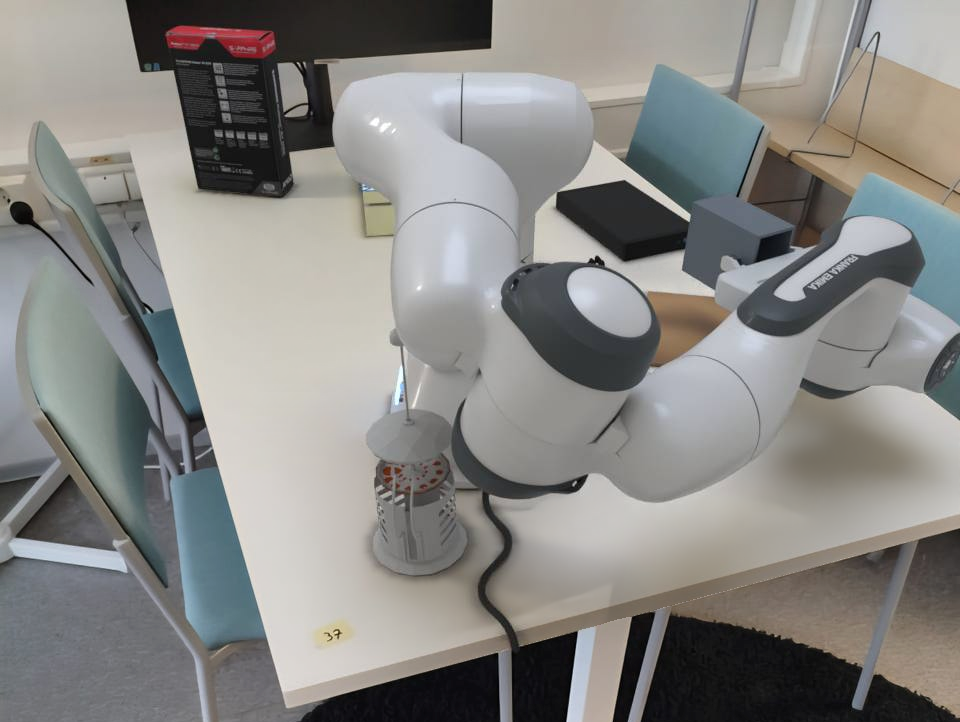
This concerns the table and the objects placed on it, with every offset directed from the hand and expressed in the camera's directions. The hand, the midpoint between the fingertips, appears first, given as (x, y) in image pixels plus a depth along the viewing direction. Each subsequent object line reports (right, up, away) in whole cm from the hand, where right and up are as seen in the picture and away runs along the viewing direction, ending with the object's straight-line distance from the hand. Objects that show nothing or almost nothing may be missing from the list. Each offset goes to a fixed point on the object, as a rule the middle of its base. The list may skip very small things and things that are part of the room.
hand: (747, 253), depth 109 cm
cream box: (-49, +27, +54) cm, 78 cm away
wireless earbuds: (-17, 0, +22) cm, 27 cm away
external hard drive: (-9, +14, +39) cm, 43 cm away
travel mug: (-29, +4, +26) cm, 39 cm away
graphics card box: (-77, +25, +52) cm, 96 cm away
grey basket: (-1, -3, +5) cm, 5 cm away
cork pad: (-2, -8, +11) cm, 14 cm away
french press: (-40, -35, -21) cm, 58 cm away
